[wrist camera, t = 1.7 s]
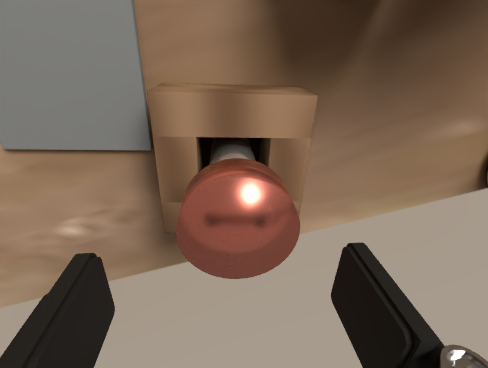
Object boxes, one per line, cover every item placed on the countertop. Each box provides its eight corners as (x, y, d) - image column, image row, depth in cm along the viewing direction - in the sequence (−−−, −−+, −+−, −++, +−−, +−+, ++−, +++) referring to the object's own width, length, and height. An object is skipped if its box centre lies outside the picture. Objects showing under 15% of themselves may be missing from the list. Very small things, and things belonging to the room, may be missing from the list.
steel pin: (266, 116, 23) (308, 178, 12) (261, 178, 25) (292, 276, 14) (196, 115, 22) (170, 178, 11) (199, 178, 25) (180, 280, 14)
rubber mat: (130, -20, 18) (128, -22, 17) (152, 148, 23) (151, 150, 23) (-63, -32, 17) (-70, -34, 16) (7, 147, 22) (3, 149, 22)
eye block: (298, 86, 22) (318, 95, 17) (284, 200, 27) (296, 230, 22) (163, 82, 21) (146, 91, 16) (175, 201, 26) (164, 233, 21)
